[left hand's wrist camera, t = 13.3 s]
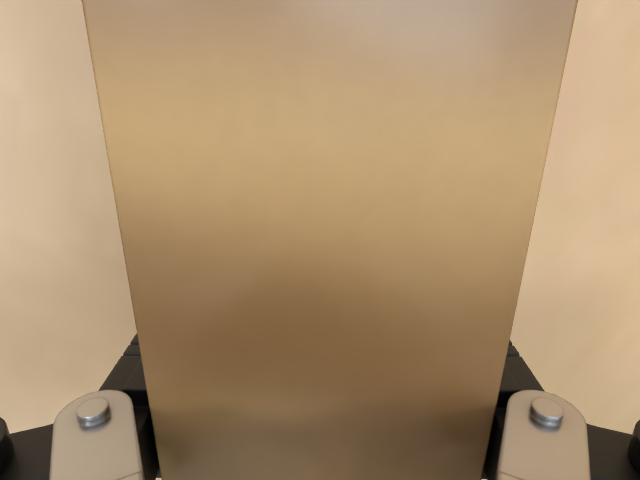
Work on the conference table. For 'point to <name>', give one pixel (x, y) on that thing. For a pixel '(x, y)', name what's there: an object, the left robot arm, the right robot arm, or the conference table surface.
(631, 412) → the conference table surface
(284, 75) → the box
